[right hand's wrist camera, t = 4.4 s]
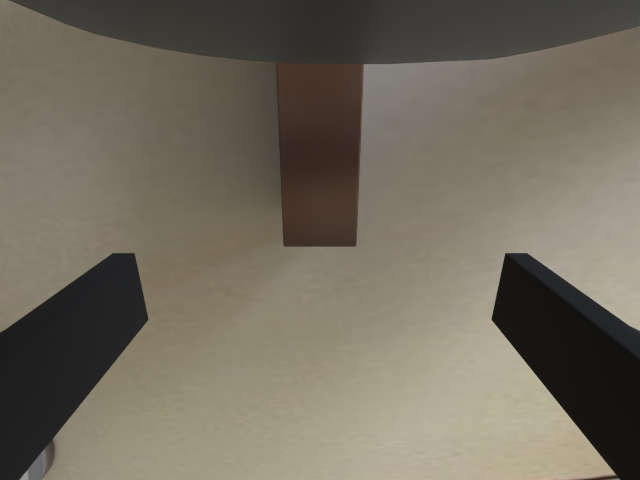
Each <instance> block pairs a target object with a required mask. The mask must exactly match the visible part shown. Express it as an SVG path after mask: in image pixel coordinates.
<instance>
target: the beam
mask: <svg viewBox="0 0 640 480" xmlns="http://www.w3.org/2000/svg"><path fill="white" fill-rule="evenodd" d="M276 70H277V95H278V120H279V144H280V169H281V193H282V218H283V243H284V246H356V242H357V218H358V193H359V169H360V144H361V119H362V95H363V70H364V64H295V63H282V62H276Z"/></svg>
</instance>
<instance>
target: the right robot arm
mask: <svg viewBox="0 0 640 480" xmlns="http://www.w3.org/2000/svg"><path fill="white" fill-rule="evenodd" d="M147 321H148V315H147V310H146V306H145V301H144V296H143V291H142V287H141V282H140V277H139V272H138V267H137V263H136V258H135V253H113V254H111V255H110V256H108V257H107V258H106V259H104V260H103V261H101V262H100V263H99V264H97V265H96V266H94V267H93V268H92V269H90V270H89V271H87V272H86V273H85V274H83V275H82V276H80V277H79V278H78V279H76V280H75V281H73V282H72V283H70V284H69V285H68V286H66V287H65V288H63V289H62V290H61V291H59V292H58V293H56V294H55V295H54V296H52V297H51V298H49V299H48V300H47V301H45V302H44V303H42V304H41V305H40V306H38V307H37V308H35V309H34V310H32V311H31V312H30V313H28V314H27V315H25V316H24V317H23V318H21V319H20V320H18V321H17V322H16V323H14V324H13V325H11V326H10V327H9V328H7V329H6V330H4V331H2V332H0V480H42V478H43V477H44V476H45V474H46V473H47V472H48V470H49V469H50V467H51V465H52V463H53V459H54V447H53V443H52V439H53V438H54V436H55V435H56V434H57V433H58V431H59V430H60V429H61V428H62V426H63V425H64V424H65V423H66V422H67V420H68V419H69V418H70V417H71V415H72V414H73V413H74V412H75V410H76V409H77V408H78V407H79V405H80V404H81V403H82V402H83V400H84V399H85V398H86V397H87V395H88V394H89V393H90V392H91V390H92V389H93V388H94V387H95V385H96V384H97V383H98V382H99V380H100V379H101V378H102V377H103V375H104V374H105V373H106V372H107V370H108V369H109V368H110V367H111V366H112V364H113V363H114V362H115V361H116V359H117V358H118V357H119V356H120V354H121V353H122V352H123V351H124V349H125V348H126V347H127V346H128V344H129V343H130V342H131V341H132V339H133V338H134V337H135V336H136V334H137V333H138V332H139V331H140V329H141V328H142V327H143V326H144V324H145V323H146V322H147ZM492 321H493V322H494V323H495V324H496V326H497V327H498V328H499V329H500V331H501V332H502V333H503V334H504V336H505V337H506V338H507V339H508V341H509V342H510V343H511V344H512V346H513V347H514V348H515V349H516V351H517V352H518V353H519V354H520V356H521V357H522V358H523V359H524V361H525V362H526V363H527V364H528V366H529V367H530V368H531V369H532V370H533V372H534V373H535V374H536V375H537V377H538V378H539V379H540V380H541V382H542V383H543V384H544V385H545V387H546V388H547V389H548V390H549V392H550V393H551V394H552V395H553V397H554V398H555V399H556V400H557V402H558V403H559V404H560V405H561V407H562V408H563V409H564V410H565V412H566V413H567V414H568V415H569V417H570V418H571V419H572V420H573V422H574V423H575V424H576V425H577V426H578V428H579V429H580V430H581V431H582V433H583V434H584V435H585V436H586V438H587V439H588V440H589V441H590V443H591V444H592V445H593V446H594V448H595V449H596V450H597V451H598V453H599V454H600V455H601V456H602V458H603V459H604V460H605V461H606V463H607V464H608V465H609V466H610V468H611V469H612V470H613V471H614V473H615V474H616V475H617V476H618V477H619V479H620V480H640V331H639V330H637V329H635V328H633V327H630V326H629V325H627V324H626V323H624V322H623V321H622V320H620V319H619V318H617V317H616V316H615V315H613V314H612V313H610V312H609V311H608V310H606V309H605V308H603V307H602V306H600V305H599V304H598V303H596V302H595V301H593V300H592V299H591V298H589V297H588V296H586V295H585V294H584V293H582V292H581V291H579V290H578V289H577V288H575V287H574V286H572V285H571V284H570V283H568V282H567V281H565V280H564V279H562V278H561V277H560V276H558V275H557V274H555V273H554V272H553V271H551V270H550V269H548V268H547V267H546V266H544V265H543V264H541V263H540V262H539V261H537V260H536V259H534V258H533V257H532V256H530V255H529V254H527V253H505V258H504V263H503V267H502V272H501V277H500V282H499V287H498V291H497V296H496V301H495V306H494V310H493V315H492Z"/></svg>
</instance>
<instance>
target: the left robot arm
mask: <svg viewBox="0 0 640 480" xmlns="http://www.w3.org/2000/svg"><path fill="white" fill-rule="evenodd" d="M10 1H12V2H15V3H17V4H20V5H22V6H24V7H27V8H29V9H32V10H34V11H36V12H39V13H41V14H44V15H46V16H48V17H51V18H53V19H55V20H58V21H60V22H63V23H65V24H68V25H71V26H74V27H77V28H79V29H82V30H85V31H88V32H91V33H94V34H98V35H102V36H107V37H111V38H115V39H120V40H124V41H128V42H133V43H137V44H141V45H146V46H150V47H154V48H161V49H167V50H173V51H179V52H185V53H191V54H197V55H204V56H212V57H222V58H232V59H241V60H251V61H269V62H282V63H295V64H398V63H418V62H439V61H459V60H482V59H493V58H500V57H507V56H512V55H517V54H522V53H527V52H532V51H538V50H543V49H547V48H552V47H556V46H561V45H565V44H570V43H574V42H578V41H582V40H586V39H590V38H594V37H598V36H602V35H606V34H610V33H614V32H618V31H622V30H626V29H629V28H633V27H637V26H640V0H10Z"/></svg>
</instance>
